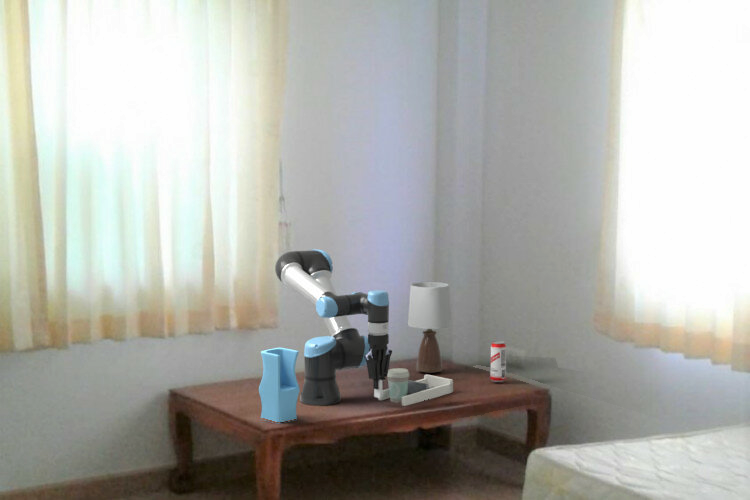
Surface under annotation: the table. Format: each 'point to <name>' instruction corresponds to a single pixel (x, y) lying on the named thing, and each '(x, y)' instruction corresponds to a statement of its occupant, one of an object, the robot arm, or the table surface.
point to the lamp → (429, 320)
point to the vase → (279, 385)
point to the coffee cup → (397, 384)
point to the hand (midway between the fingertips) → (378, 397)
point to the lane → (440, 388)
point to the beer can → (498, 361)
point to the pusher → (417, 387)
